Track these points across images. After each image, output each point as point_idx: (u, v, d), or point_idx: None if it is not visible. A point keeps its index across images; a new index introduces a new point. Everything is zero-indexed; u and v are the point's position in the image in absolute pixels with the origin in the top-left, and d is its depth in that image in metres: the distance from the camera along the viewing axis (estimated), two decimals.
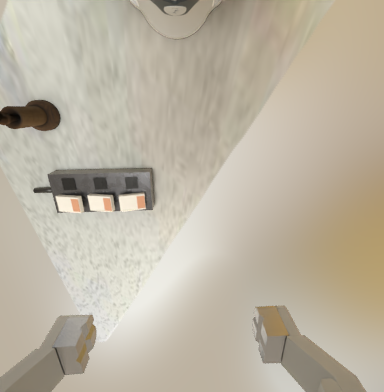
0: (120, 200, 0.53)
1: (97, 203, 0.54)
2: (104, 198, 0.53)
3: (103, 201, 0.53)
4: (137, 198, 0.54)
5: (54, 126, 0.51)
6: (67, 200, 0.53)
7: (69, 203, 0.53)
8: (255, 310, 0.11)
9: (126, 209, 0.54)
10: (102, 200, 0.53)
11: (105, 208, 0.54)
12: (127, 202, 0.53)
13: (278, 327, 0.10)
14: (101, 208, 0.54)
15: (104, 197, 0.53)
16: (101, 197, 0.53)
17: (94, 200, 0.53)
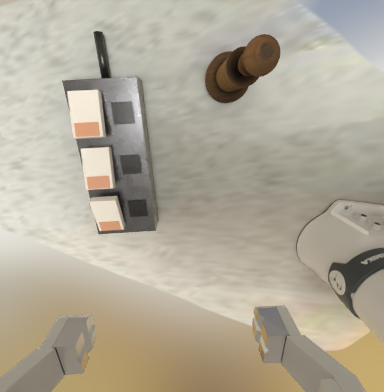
0: (109, 202, 0.34)
1: (96, 164, 0.32)
2: (108, 177, 0.33)
3: (103, 175, 0.33)
4: (115, 221, 0.36)
5: (212, 95, 0.34)
6: (93, 113, 0.30)
7: (89, 117, 0.30)
8: (255, 310, 0.11)
9: (94, 209, 0.34)
10: (103, 174, 0.33)
11: (90, 178, 0.32)
12: (106, 210, 0.35)
13: (278, 327, 0.10)
14: (88, 170, 0.32)
15: (110, 178, 0.33)
16: (108, 172, 0.33)
17: (101, 159, 0.32)
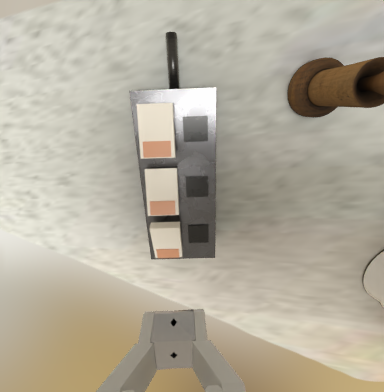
0: (172, 229, 0.30)
1: (162, 187, 0.28)
2: (174, 202, 0.28)
3: (168, 199, 0.28)
4: (175, 249, 0.32)
5: (296, 109, 0.29)
6: (165, 130, 0.25)
7: (160, 135, 0.25)
8: None
9: (154, 236, 0.30)
10: (168, 198, 0.28)
11: (153, 203, 0.28)
12: (167, 237, 0.30)
13: (187, 331, 0.10)
14: (152, 194, 0.28)
15: (176, 203, 0.28)
16: (175, 197, 0.28)
17: (167, 181, 0.28)
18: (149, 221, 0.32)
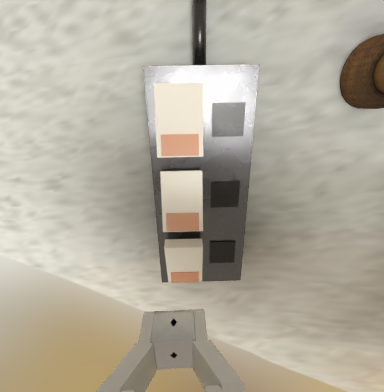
0: (193, 249, 0.23)
1: (182, 195, 0.21)
2: (197, 214, 0.22)
3: (190, 211, 0.22)
4: (194, 272, 0.25)
5: (352, 97, 0.23)
6: (191, 120, 0.19)
7: (185, 126, 0.19)
8: None
9: (169, 256, 0.24)
10: (190, 210, 0.22)
11: (171, 215, 0.22)
12: (185, 258, 0.24)
13: (187, 331, 0.10)
14: (169, 204, 0.22)
15: (200, 216, 0.22)
16: (199, 208, 0.22)
17: (190, 188, 0.21)
18: (161, 236, 0.26)
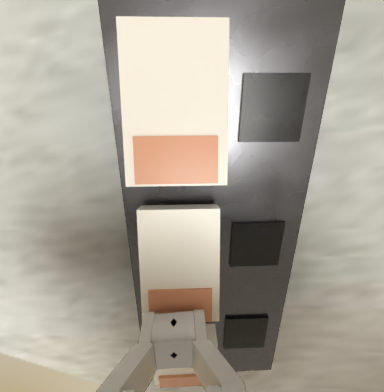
0: None
1: (180, 255, 0.11)
2: (210, 292, 0.11)
3: (195, 285, 0.11)
4: None
5: None
6: (203, 104, 0.08)
7: (188, 119, 0.08)
8: None
9: None
10: (196, 283, 0.11)
11: (158, 294, 0.11)
12: None
13: (187, 331, 0.10)
14: (155, 272, 0.11)
15: (215, 295, 0.11)
16: (212, 279, 0.11)
17: (195, 242, 0.11)
18: None
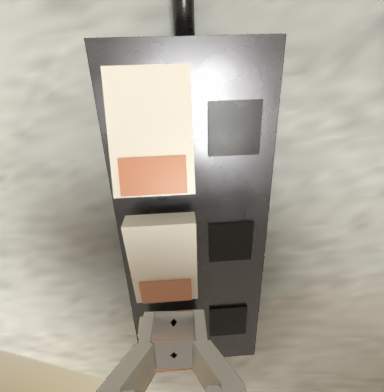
0: None
1: (163, 258, 0.13)
2: (189, 281, 0.14)
3: (177, 278, 0.14)
4: None
5: None
6: (172, 131, 0.10)
7: (161, 143, 0.10)
8: None
9: None
10: (178, 276, 0.14)
11: (147, 285, 0.14)
12: None
13: (187, 332, 0.10)
14: (143, 270, 0.13)
15: (194, 283, 0.14)
16: (191, 272, 0.14)
17: (175, 249, 0.13)
18: (137, 305, 0.17)
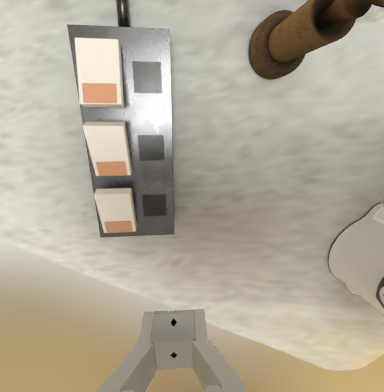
0: (121, 196, 0.25)
1: (108, 147, 0.24)
2: (124, 163, 0.25)
3: (117, 160, 0.25)
4: (126, 221, 0.28)
5: (257, 67, 0.27)
6: (109, 71, 0.22)
7: (104, 77, 0.22)
8: None
9: (100, 204, 0.26)
10: (117, 159, 0.25)
11: (100, 163, 0.25)
12: (116, 206, 0.26)
13: (187, 332, 0.10)
14: (97, 154, 0.24)
15: (127, 164, 0.25)
16: (125, 157, 0.25)
17: (114, 141, 0.24)
18: None
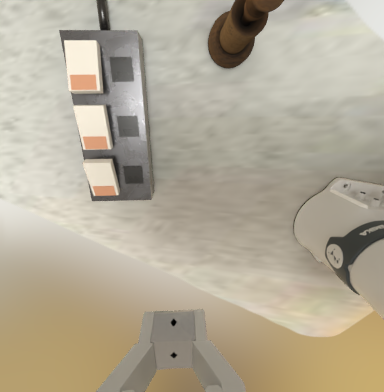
0: (103, 164, 0.32)
1: (92, 123, 0.31)
2: (105, 137, 0.32)
3: (99, 135, 0.32)
4: (110, 186, 0.35)
5: (214, 58, 0.33)
6: (90, 65, 0.28)
7: (86, 69, 0.28)
8: None
9: (88, 171, 0.33)
10: (99, 134, 0.32)
11: (86, 138, 0.32)
12: (100, 173, 0.33)
13: (187, 332, 0.10)
14: (84, 129, 0.31)
15: (107, 139, 0.32)
16: (105, 132, 0.32)
17: (96, 118, 0.31)
18: None
